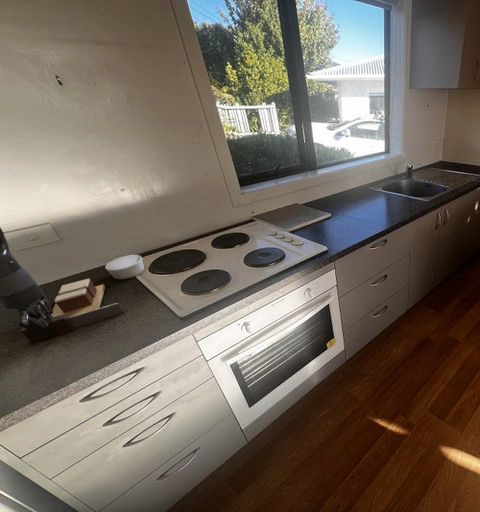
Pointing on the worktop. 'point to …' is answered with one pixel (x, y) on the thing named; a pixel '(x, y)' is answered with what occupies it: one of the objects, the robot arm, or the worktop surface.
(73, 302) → the cake slice
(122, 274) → the ramekin
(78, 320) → the knife
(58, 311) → the board
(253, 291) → the worktop surface
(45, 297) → the robot arm
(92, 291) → the cake
